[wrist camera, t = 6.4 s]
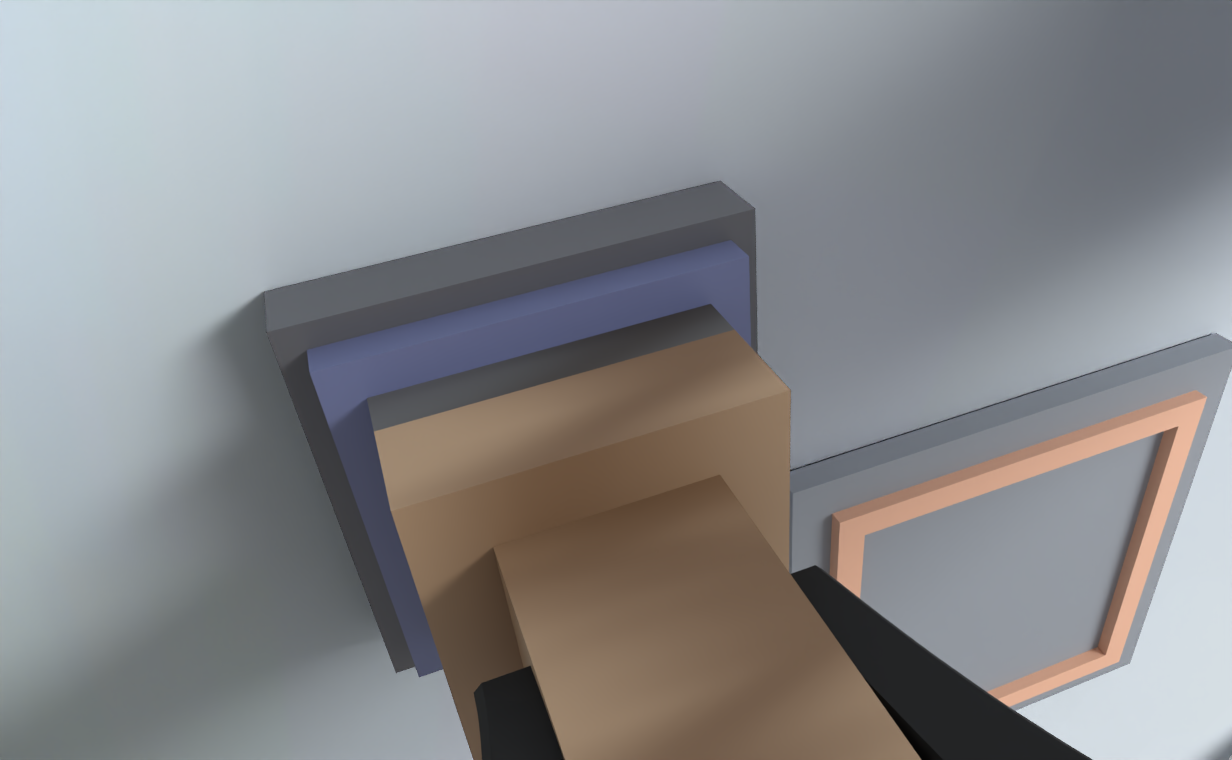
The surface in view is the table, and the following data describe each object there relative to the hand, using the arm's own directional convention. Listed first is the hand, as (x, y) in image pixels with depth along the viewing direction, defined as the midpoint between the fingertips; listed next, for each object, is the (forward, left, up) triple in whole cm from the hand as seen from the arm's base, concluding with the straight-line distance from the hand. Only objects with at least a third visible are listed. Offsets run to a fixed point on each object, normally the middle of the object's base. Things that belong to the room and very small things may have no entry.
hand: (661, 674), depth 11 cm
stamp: (0, 0, -4) cm, 4 cm away
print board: (-10, +8, -6) cm, 14 cm away
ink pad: (0, 0, -6) cm, 6 cm away
